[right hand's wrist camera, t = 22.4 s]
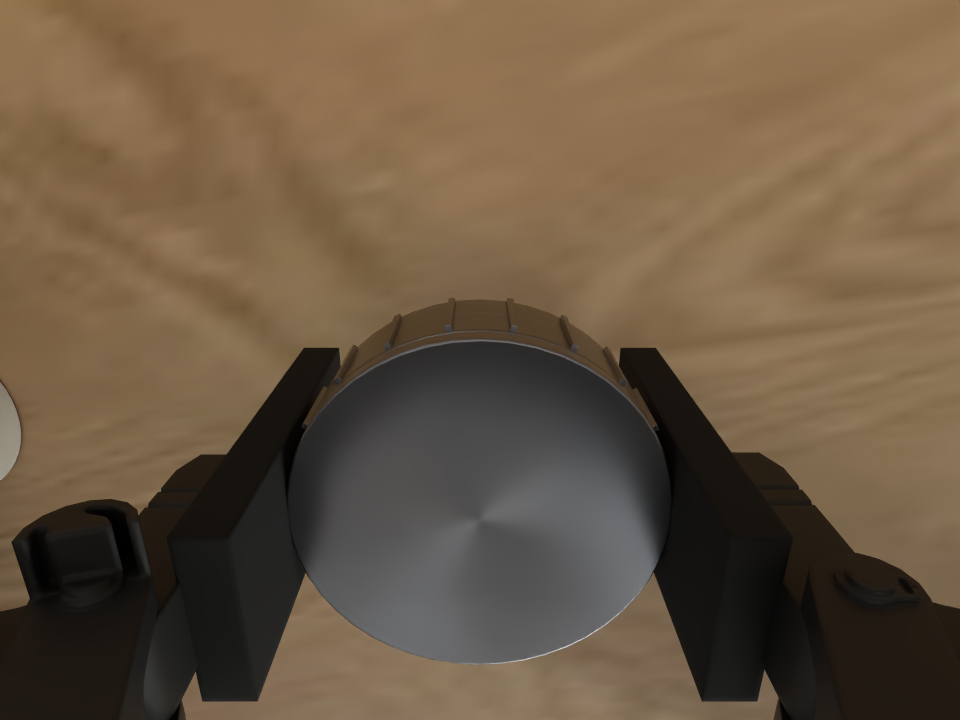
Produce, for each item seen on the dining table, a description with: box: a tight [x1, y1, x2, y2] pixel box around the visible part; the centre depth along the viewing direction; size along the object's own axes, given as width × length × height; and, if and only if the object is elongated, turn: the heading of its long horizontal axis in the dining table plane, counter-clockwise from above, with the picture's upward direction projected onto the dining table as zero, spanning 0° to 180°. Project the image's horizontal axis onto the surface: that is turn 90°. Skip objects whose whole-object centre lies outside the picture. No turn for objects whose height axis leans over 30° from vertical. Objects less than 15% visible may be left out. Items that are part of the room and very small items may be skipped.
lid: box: [286, 298, 673, 665], centre depth 11 cm, size 6×6×2 cm
